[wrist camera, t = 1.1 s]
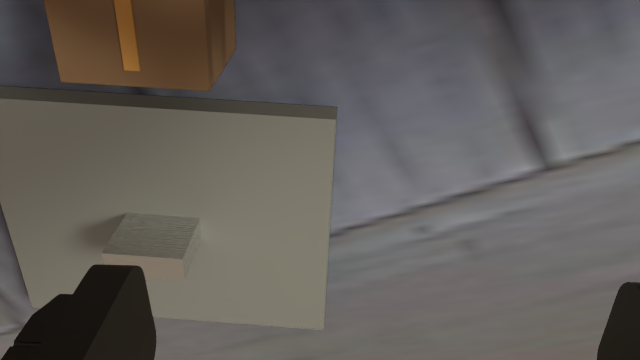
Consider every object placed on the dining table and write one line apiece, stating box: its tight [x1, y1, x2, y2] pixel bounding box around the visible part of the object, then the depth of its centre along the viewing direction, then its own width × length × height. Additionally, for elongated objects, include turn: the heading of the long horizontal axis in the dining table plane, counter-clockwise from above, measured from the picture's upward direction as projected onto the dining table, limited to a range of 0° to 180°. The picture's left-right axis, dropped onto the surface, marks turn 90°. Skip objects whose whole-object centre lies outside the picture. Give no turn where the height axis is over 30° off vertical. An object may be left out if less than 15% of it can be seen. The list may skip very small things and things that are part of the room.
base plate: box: [0, 86, 337, 330], centre depth 31 cm, size 14×18×2 cm
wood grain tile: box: [101, 213, 202, 281], centre depth 29 cm, size 1×4×4 cm, turn 88°
